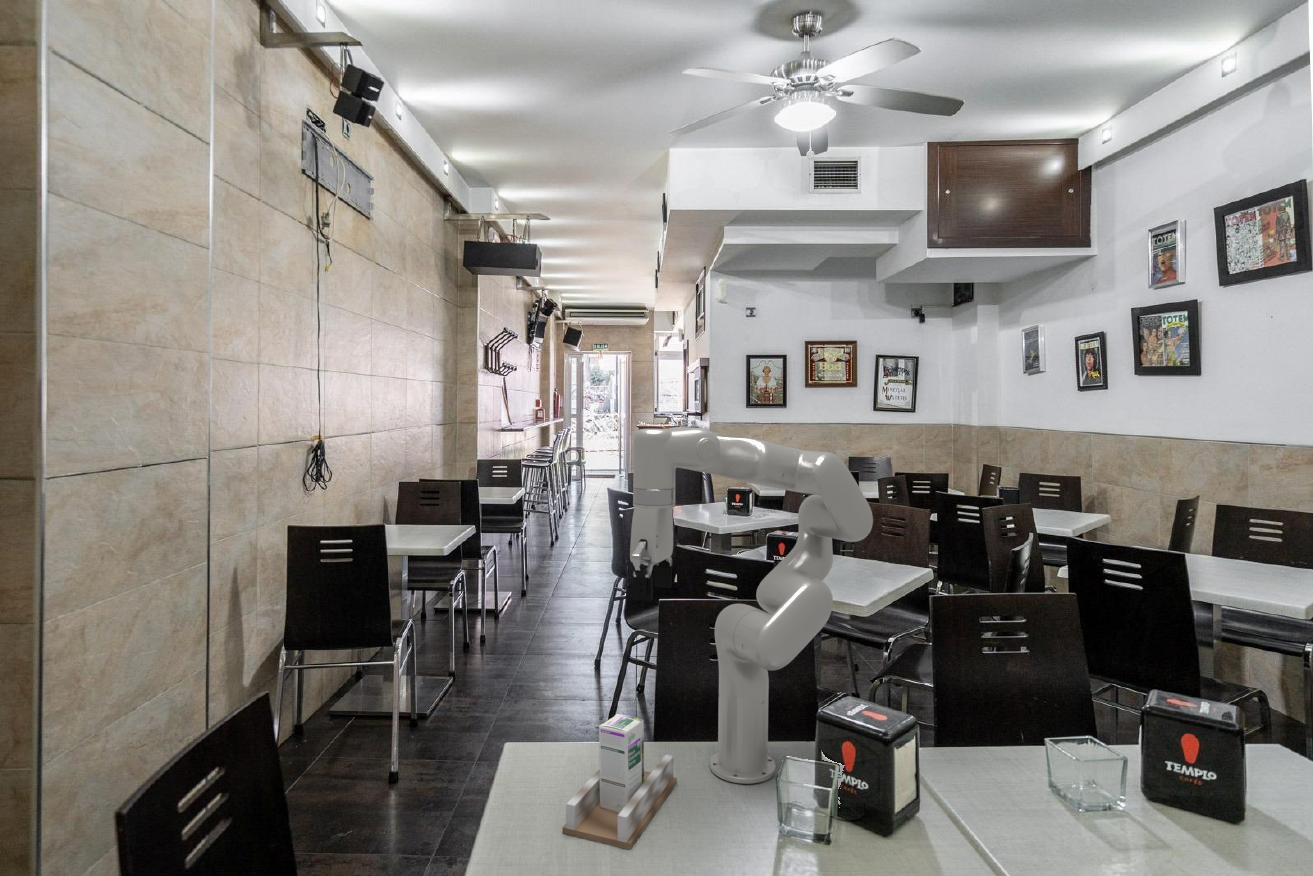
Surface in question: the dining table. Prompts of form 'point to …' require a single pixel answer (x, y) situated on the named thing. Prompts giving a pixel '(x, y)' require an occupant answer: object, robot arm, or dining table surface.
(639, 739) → the syrup box
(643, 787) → the track
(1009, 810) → the dining table surface
